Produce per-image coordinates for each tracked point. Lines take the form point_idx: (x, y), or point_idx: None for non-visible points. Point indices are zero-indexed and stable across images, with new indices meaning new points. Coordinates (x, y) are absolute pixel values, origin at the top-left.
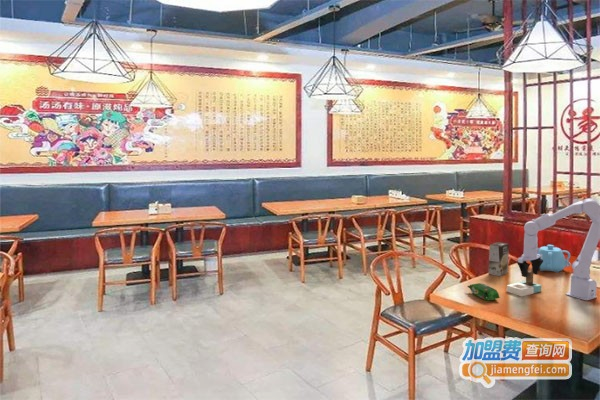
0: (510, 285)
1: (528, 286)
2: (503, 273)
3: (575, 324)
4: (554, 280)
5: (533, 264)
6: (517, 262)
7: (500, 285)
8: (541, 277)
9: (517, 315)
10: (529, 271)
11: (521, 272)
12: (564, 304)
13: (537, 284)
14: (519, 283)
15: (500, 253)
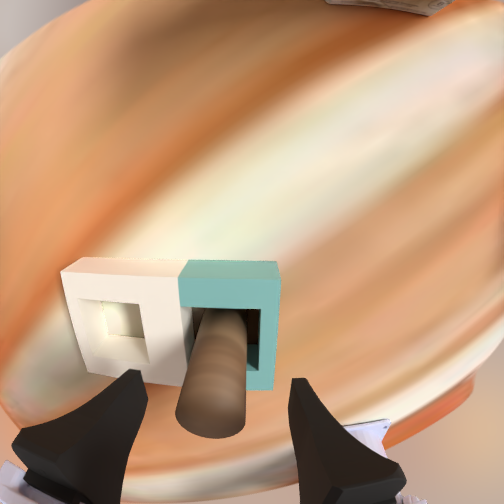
0: (76, 287)
1: (169, 365)
2: (381, 4)
3: None
4: (494, 273)
5: (309, 458)
6: (17, 443)
7: (138, 142)
8: (501, 200)
9: (11, 402)
10: (214, 414)
11: (109, 389)
12: (199, 462)
13: (263, 373)
14: (164, 296)
15: None
